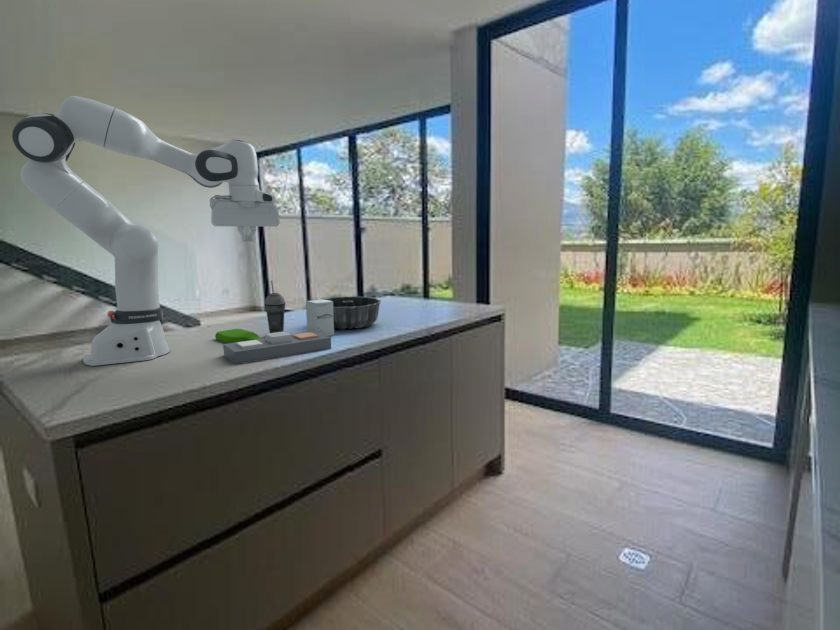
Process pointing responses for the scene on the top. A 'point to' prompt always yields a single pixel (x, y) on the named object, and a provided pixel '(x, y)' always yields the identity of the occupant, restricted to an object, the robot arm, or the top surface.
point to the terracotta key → (305, 336)
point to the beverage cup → (275, 311)
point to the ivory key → (249, 344)
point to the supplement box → (320, 317)
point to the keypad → (275, 348)
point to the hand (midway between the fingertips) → (247, 241)
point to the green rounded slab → (235, 336)
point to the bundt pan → (354, 311)
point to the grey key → (278, 337)
